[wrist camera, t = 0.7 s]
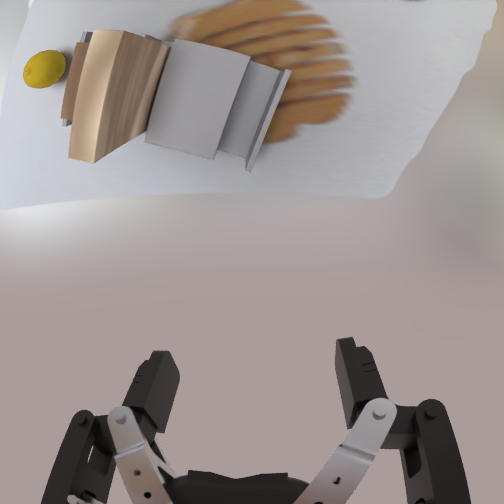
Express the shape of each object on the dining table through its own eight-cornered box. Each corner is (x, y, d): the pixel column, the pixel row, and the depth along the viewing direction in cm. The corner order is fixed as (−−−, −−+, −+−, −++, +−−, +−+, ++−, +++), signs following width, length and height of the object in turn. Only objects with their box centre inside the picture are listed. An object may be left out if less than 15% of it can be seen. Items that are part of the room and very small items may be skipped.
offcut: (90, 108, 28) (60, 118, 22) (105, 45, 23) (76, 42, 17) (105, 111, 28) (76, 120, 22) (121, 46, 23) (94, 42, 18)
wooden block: (139, 121, 29) (68, 157, 16) (160, 47, 24) (94, 29, 11) (156, 125, 30) (93, 163, 17) (179, 50, 25) (123, 30, 12)
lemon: (77, 47, 23) (43, 46, 16) (73, 82, 26) (39, 88, 20) (50, 53, 22) (15, 56, 16) (46, 87, 26) (12, 95, 19)
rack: (88, 116, 29) (62, 125, 24) (108, 36, 23) (83, 31, 18) (250, 156, 34) (250, 172, 29) (283, 73, 28) (291, 70, 23)
